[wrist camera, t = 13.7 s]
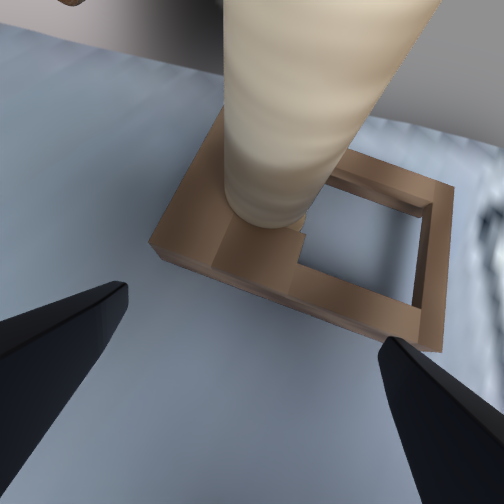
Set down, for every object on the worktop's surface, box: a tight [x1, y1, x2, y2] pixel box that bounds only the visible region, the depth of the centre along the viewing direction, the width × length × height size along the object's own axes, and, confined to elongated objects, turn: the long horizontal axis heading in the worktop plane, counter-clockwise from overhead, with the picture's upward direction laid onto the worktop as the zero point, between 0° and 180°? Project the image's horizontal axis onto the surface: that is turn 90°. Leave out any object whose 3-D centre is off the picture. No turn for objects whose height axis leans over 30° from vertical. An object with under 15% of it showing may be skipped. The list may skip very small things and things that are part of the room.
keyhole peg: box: [223, 0, 442, 232], centre depth 11 cm, size 6×6×13 cm
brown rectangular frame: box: [148, 105, 454, 353], centre depth 16 cm, size 16×11×3 cm, turn 70°
